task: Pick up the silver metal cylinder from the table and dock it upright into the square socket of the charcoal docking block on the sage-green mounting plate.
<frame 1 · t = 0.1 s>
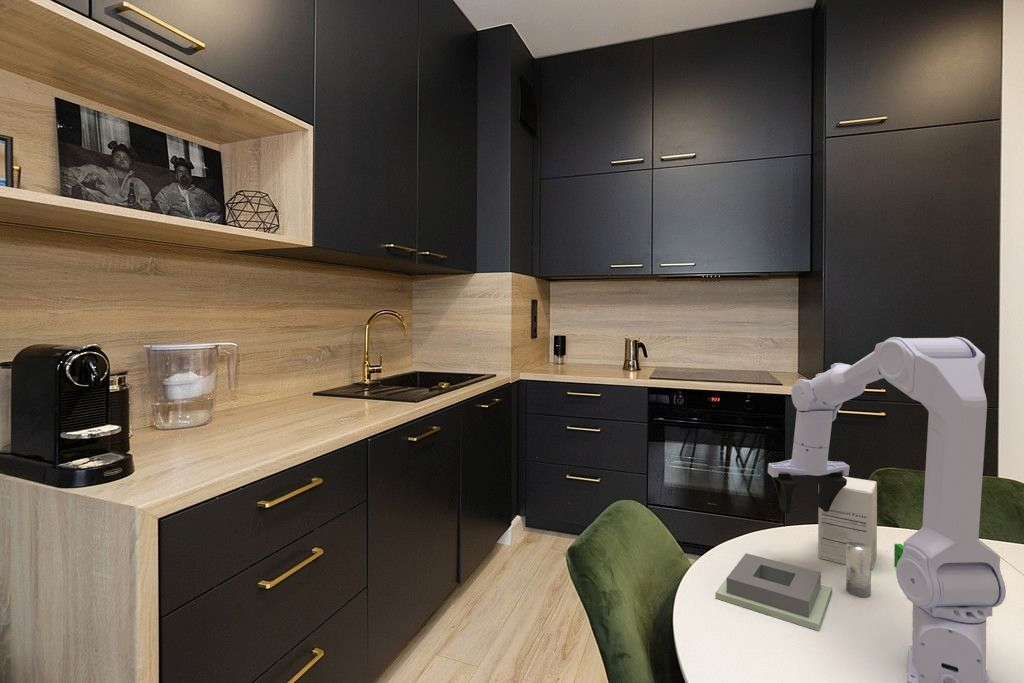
hand: (803, 509, 97), 10 cm above the table, tool pointing down, fingers open, 7 cm apart
silver metal cylinder: (858, 592, 86), on the table
supplement box: (847, 557, 100), on the table
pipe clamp: (924, 583, 90), on the table
dock: (774, 595, 86), on the table
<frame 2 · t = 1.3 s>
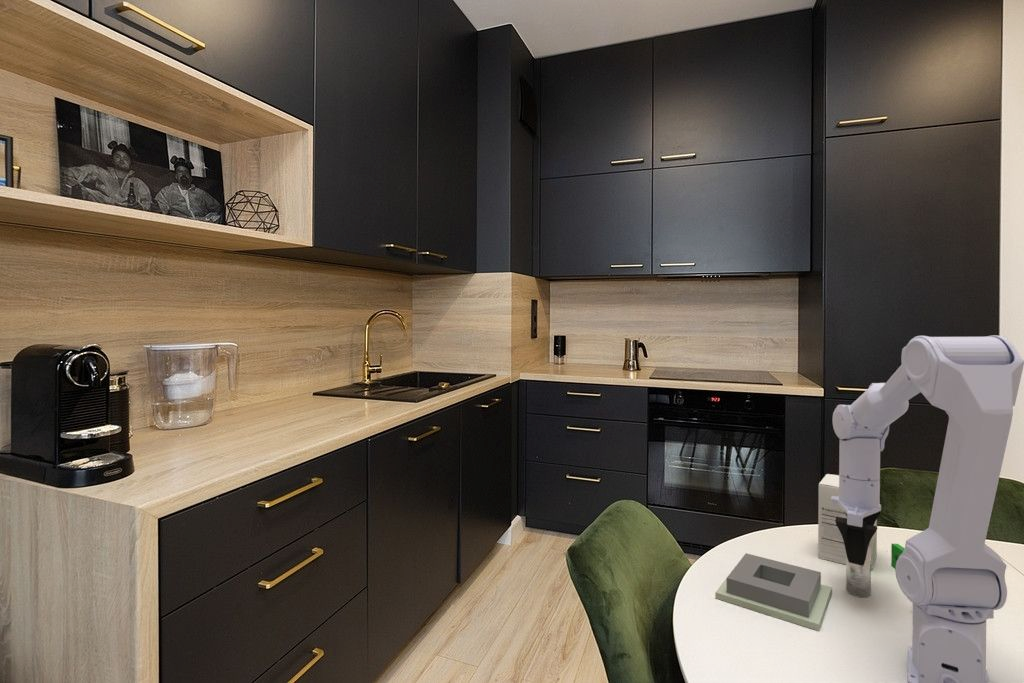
hand: (858, 555, 86), 6 cm above the table, tool pointing down, fingers open, 7 cm apart
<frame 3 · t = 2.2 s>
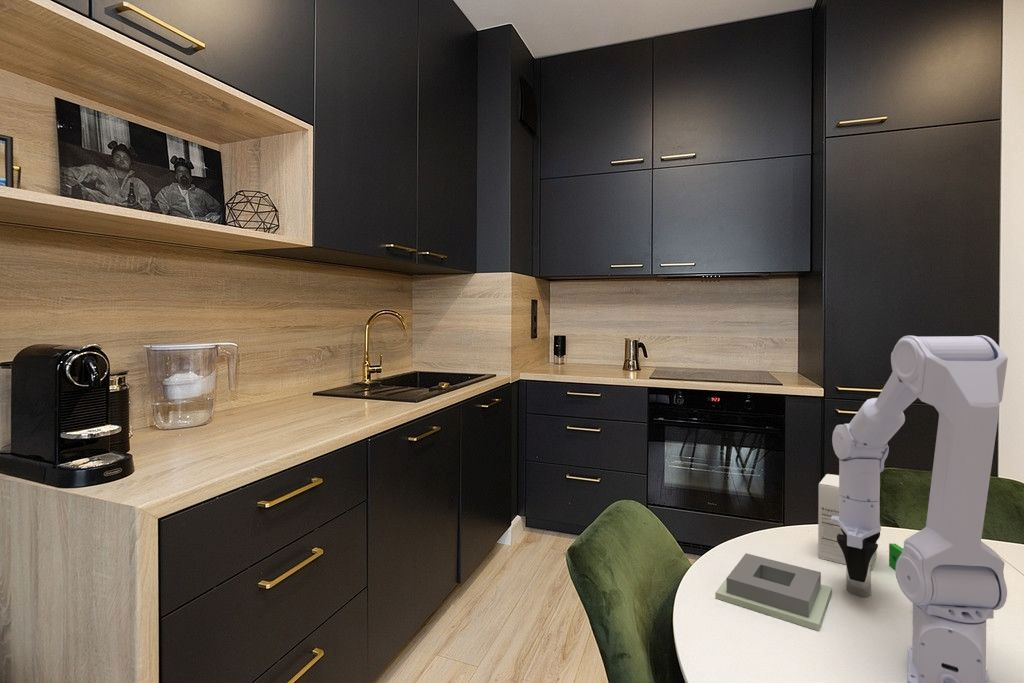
hand: (858, 575, 86), 3 cm above the table, tool pointing down, fingers closed on silver metal cylinder, 3 cm apart
silver metal cylinder: (858, 592, 86), on the table, touching gripper
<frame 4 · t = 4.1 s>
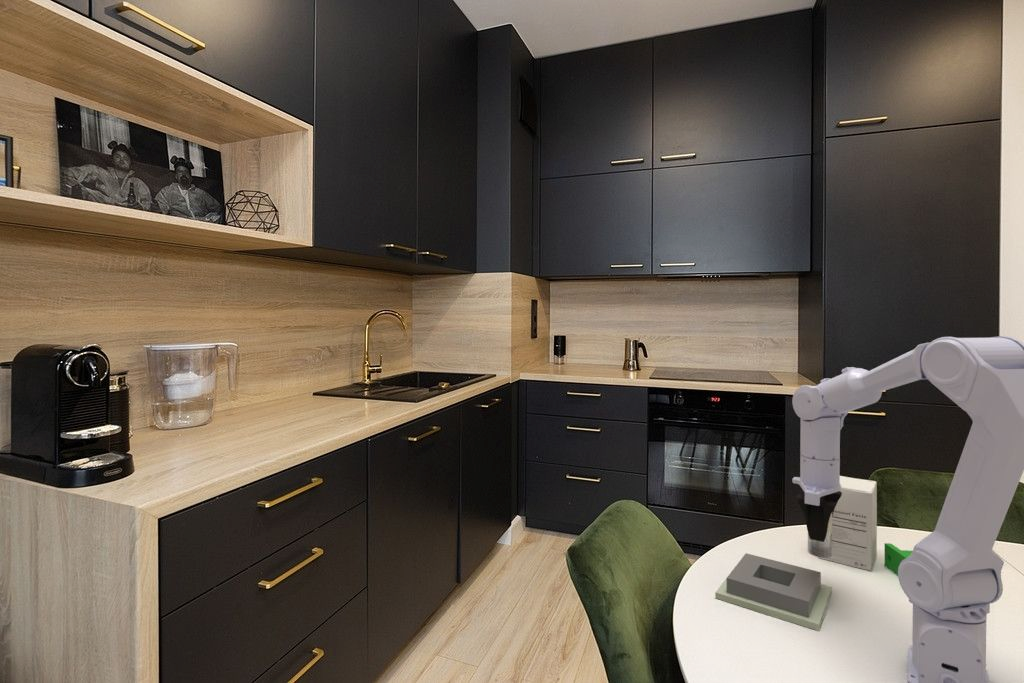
hand: (819, 535, 86), 10 cm above the table, tool pointing down, fingers closed on silver metal cylinder, 3 cm apart
silver metal cylinder: (819, 553, 86), point 7 cm above the table, touching gripper
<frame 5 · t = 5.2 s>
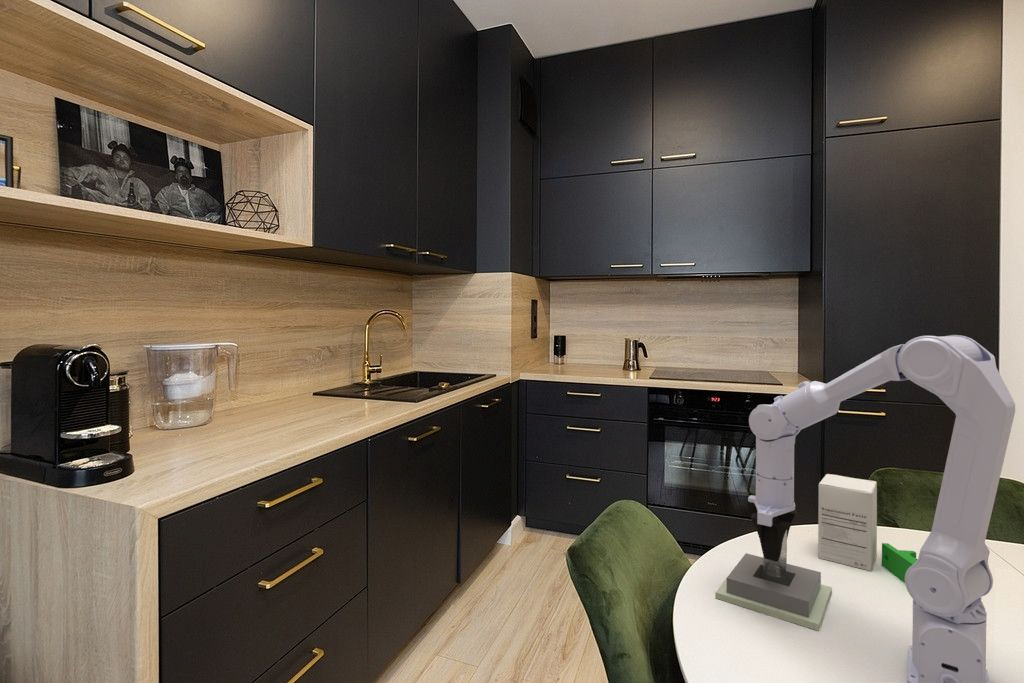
hand: (774, 555, 85), 7 cm above the table, tool pointing down, fingers closed on silver metal cylinder, 3 cm apart
silver metal cylinder: (774, 572, 85), point 4 cm above the table, touching gripper
when the fingers open (4 cm above the table, at t = 6.0 s): silver metal cylinder stays where it is, resting on dock.
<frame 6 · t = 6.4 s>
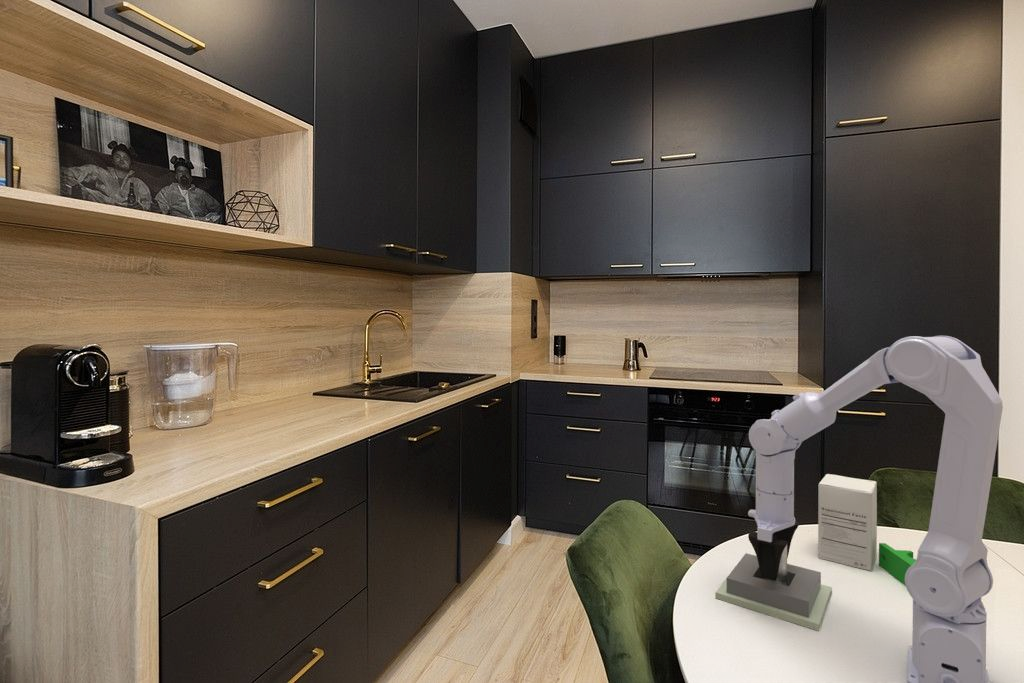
hand: (774, 569, 85), 4 cm above the table, tool pointing down, fingers open, 7 cm apart
silver metal cylinder: (774, 589, 85), point 1 cm above the table, touching dock
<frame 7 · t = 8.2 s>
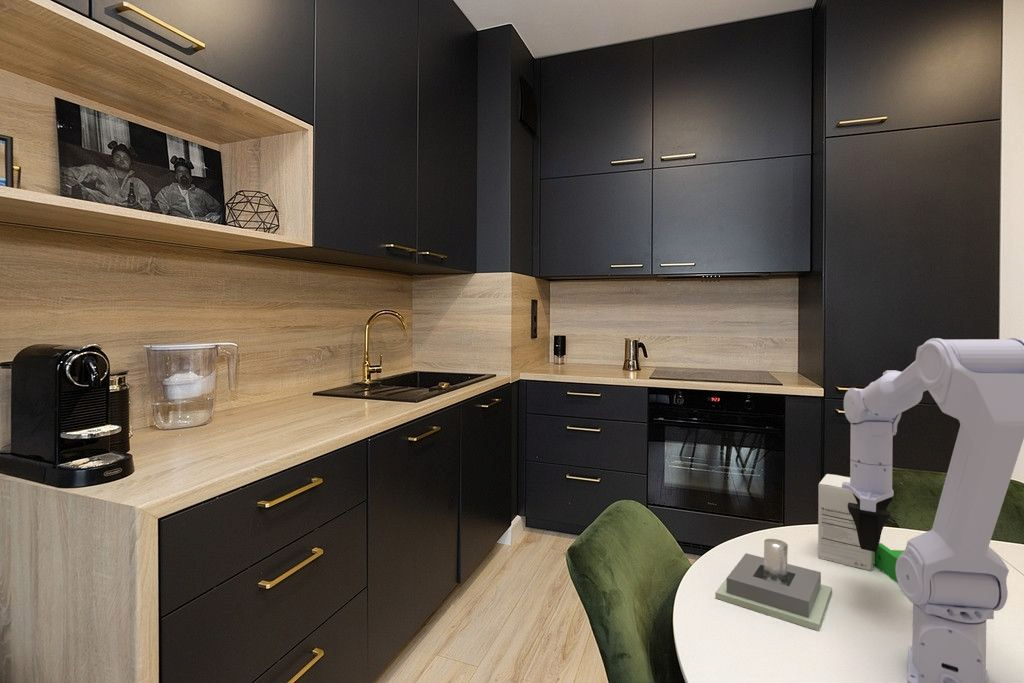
hand: (870, 542, 84), 9 cm above the table, tool pointing down, fingers open, 7 cm apart
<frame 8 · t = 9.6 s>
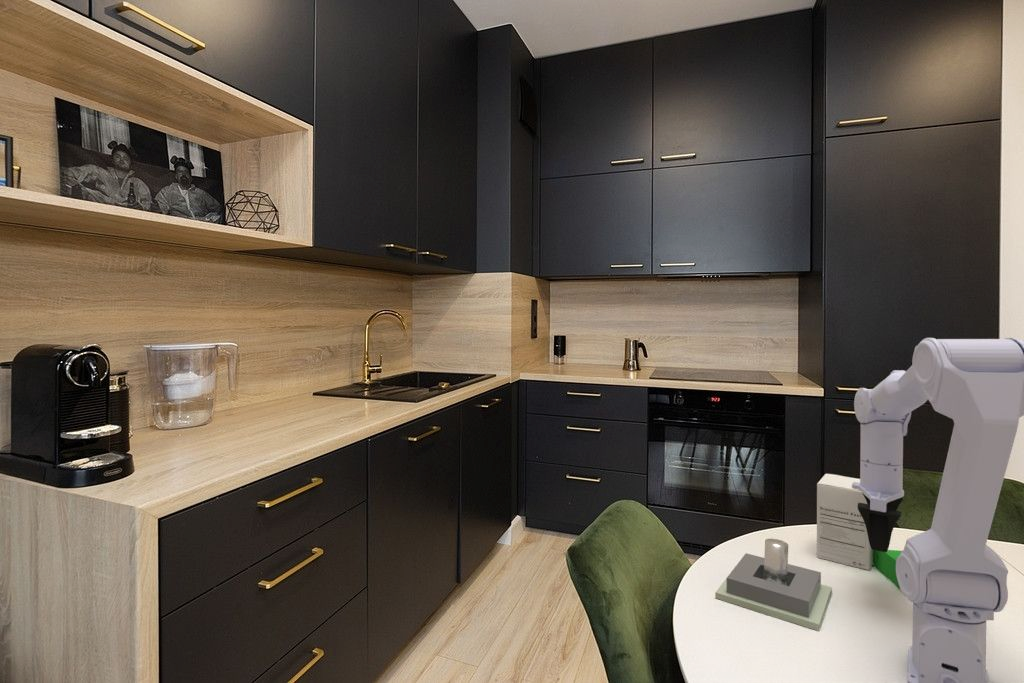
hand: (880, 542, 84), 9 cm above the table, tool pointing down, fingers open, 7 cm apart
at the end: silver metal cylinder 0.1 cm off-centre on the dock, point 1.1 cm above the dock's base; silver metal cylinder tilted 2°; the gripper is holding nothing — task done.
